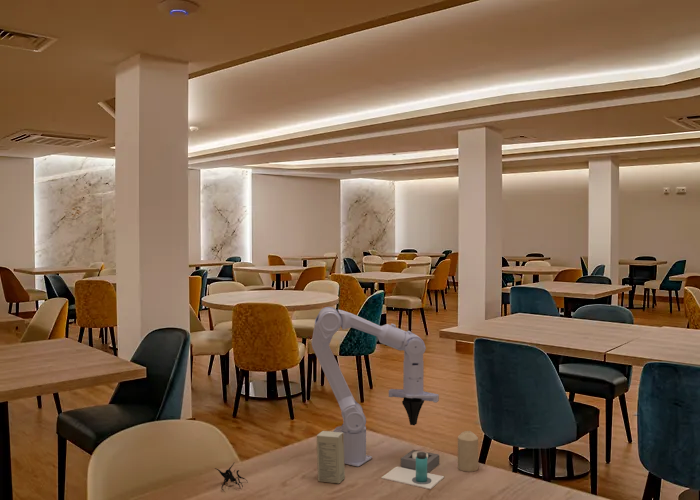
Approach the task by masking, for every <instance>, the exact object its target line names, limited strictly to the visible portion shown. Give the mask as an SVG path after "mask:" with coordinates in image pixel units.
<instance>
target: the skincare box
mask: <svg viewBox="0 0 700 500" xmlns="http://www.w3.org/2000/svg"><path fill="white" fill-rule="evenodd" d="M316 458H317V459H316V460H317V461H316V462H317V481H318V482H322V483H323V482H324V483H332V484H340V483H341V482H342V481H344V479H345V477H346V475H345V464H344V435H343V432H333V431H329V430H322V431H321V432H319V433H318V434H317V435H316Z"/></svg>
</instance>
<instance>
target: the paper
mask: <svg viewBox="0 0 700 500" xmlns="http://www.w3.org/2000/svg"><path fill="white" fill-rule="evenodd" d="M444 478H445V476H443V475H440V474H434V473H430V472H429V473H427V482H424V483H420V482H417V481H416V470H412V469H407V468H402V467H401V466H395V467H394V468H392V469H391V470H389V471H388V472H387V473H385V474H384V475H383V476H381V479H383V480H387V481H392V482H395V483H400V484H405V485H408V486H413V487H418V488H422V489H426V490H431V489H433V488H434V487H435V486H436V485H437V484H439V483H440V482H441V481H442V480H443V479H444Z"/></svg>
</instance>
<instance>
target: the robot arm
mask: <svg viewBox="0 0 700 500" xmlns="http://www.w3.org/2000/svg"><path fill="white" fill-rule="evenodd" d="M314 319H315V320H314V323H313V324H314V325H313V331H312V337H311V347H312V350H313V352H314V354H315V356H316V358H317V361H318V362H319V365H320V367H321V369H322V371H323V373H324V375H325V377H326V380H327V382H328V384H329V387H330V388H331V390H332V394H333V395H334V397H335V399H336V402H337V403H338V407H339V408H340V411H341V417H342V420H343V423H342V425H340V426H339V425H338V426H336V427H335V428H334V430H333V431H332V432H343V435H344V465H350V466H353V467H360V466H362V465H364V464H365V463H367V462H368V461H370V460H371V459H372V458H373V456H371V455H368V454H367V426H366V424H367V417H366V415H365V413H364V409H363V407H362V405H361V404H360V403H358V402H357V401H356V399H355V398H354V395H353V393H352V392H351V389H350V387H349V385H348V383H347V381H346V379H345V377H344V374H343V373H342V370H341V368H340V366H339V363H338V362H337V360H336V357H335V355H334V353H333V351H332V349H331V346H330V344H331V341H332V339H333V338H334V337H333V336H335V334H336V333H337V332H338V331H339V330H340V328H341V329H342V330H347V329H351V328H352V329H355V330H358V331H360V332H364V333H366V334H369V335H372V336H374V337H377V340H378V341H379V343H380V344H381V345H382V344H383V345H385V346H388V347H389V348H392V349H395V350H398V351H400V352H401V351H403V363H402V364H403V367H402V368H403V369H402V370H403V371H402V372H403V377H402V378H403V383H402V384H403V389H400V388H398V389H397V388H390V389H389V390H388V397H389V398H401V399H403V400H402V401H401V403H402V405H403V407H404V409H405V411H406V414H407V416H408V417H407V418H408V420H409V425H410V426H416V425H417V424H418V418H419V416H420V411H421V409H422V407H423V404H424V402H425V401H426V402H433V403H438V402H439V401H440V394H438V393H433V392H430V391H429V392H428V391H424V373H425V372H424V365H425V364H424V362H425V361H424V353H425V352H426V350H427V346H426V344H425V341H424V340H423V339H422V338H421V337H420V336H419V335H417V334H415V333H414V332H412V331H410V330H407V331H406V330H403V329H401V328H399V327H397V325H396V324H395V323H390V324H389V323H386V324H383V325H379V324H377V323H374V322H372V321H370V320H367V319H366V318H363V317H361V316H358V315H357V314H354V313H351V312H350V311H349V312H348V311H345V310H342V309H336V308H335V307H332V306H325V307H323V308H321V310H319V311H318V314H317V316H316V317H315V318H314Z"/></svg>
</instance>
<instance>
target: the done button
mask: <svg viewBox="0 0 700 500" xmlns="http://www.w3.org/2000/svg"><path fill="white" fill-rule="evenodd" d="M418 452H423V451H422V450H418V451H416V452H413V453H412V458H413V459H416V456H417V453H418ZM424 452H425V453H426V452H427V451H424ZM426 457H427V459H428V453H426Z"/></svg>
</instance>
